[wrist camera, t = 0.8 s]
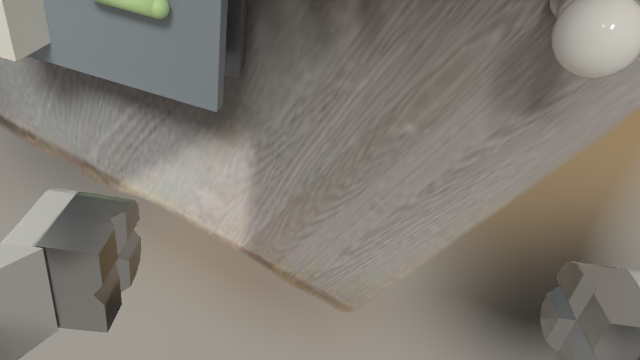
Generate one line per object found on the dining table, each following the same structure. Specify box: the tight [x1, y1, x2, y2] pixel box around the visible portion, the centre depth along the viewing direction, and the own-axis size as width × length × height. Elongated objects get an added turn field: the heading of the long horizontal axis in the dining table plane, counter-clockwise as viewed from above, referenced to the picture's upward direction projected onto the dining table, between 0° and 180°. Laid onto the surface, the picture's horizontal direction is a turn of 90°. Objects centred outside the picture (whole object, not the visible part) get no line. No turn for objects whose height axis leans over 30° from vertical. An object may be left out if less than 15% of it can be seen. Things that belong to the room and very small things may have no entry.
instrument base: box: [224, 0, 248, 79], centre depth 45 cm, size 10×20×3 cm, turn 81°
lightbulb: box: [550, 0, 640, 79], centre depth 41 cm, size 6×6×11 cm
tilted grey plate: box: [0, 0, 228, 112], centre depth 40 cm, size 10×20×5 cm, turn 81°
